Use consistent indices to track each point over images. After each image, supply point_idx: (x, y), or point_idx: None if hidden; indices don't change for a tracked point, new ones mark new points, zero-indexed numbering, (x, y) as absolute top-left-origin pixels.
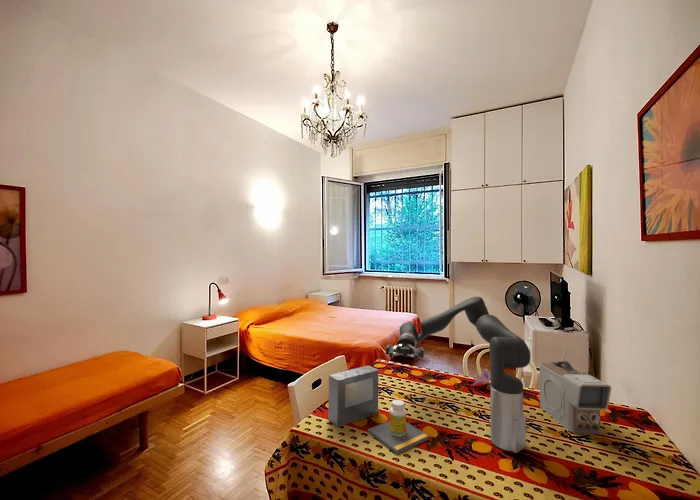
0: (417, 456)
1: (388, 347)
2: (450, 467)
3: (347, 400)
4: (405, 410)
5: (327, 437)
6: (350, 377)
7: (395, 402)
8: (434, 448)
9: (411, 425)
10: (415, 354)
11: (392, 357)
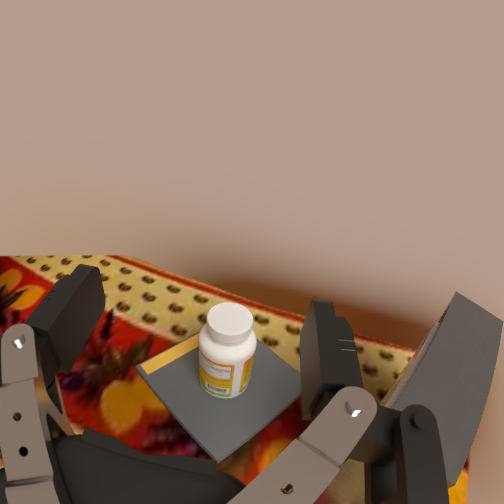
0: (182, 317)
1: (409, 440)
2: (126, 294)
3: (407, 364)
4: (201, 331)
5: (390, 351)
6: (443, 319)
7: (239, 316)
8: (135, 339)
9: (176, 414)
10: (83, 266)
11: (301, 342)
